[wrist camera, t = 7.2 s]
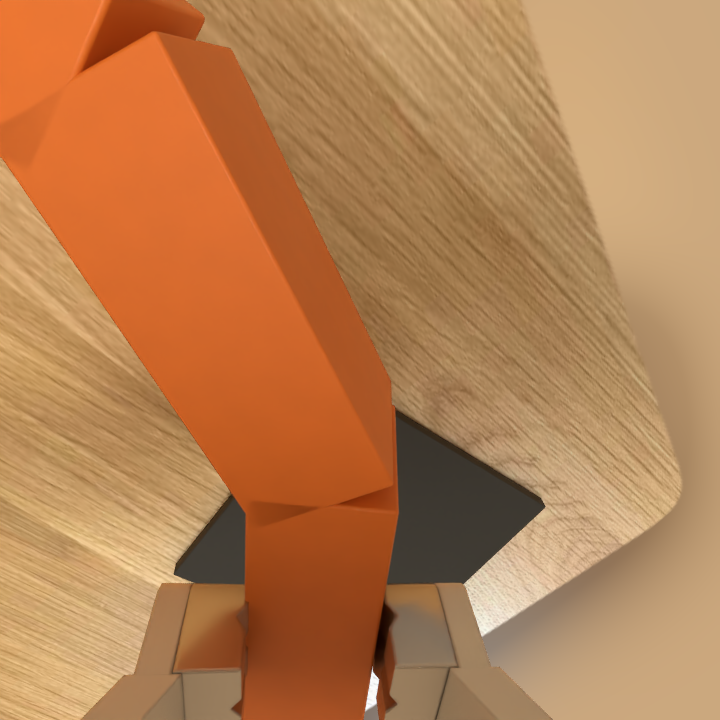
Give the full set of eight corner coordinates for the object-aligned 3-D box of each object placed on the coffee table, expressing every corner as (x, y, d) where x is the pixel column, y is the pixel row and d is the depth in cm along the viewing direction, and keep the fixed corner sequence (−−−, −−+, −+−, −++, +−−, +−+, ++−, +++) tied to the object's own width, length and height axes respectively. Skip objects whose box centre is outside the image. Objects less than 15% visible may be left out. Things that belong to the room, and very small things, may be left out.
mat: (330, 370, 29) (331, 377, 28) (541, 498, 34) (546, 507, 34) (175, 564, 34) (173, 574, 33) (382, 648, 39) (383, 659, 38)
